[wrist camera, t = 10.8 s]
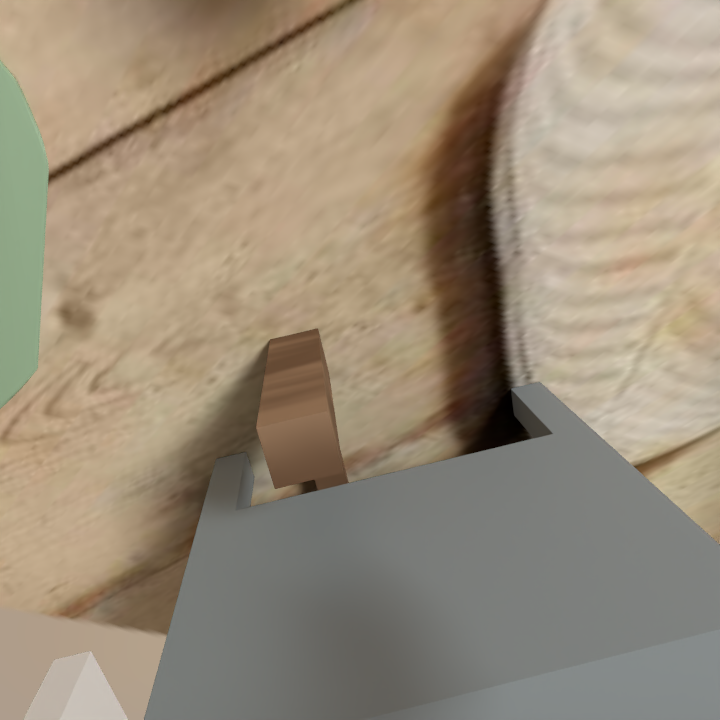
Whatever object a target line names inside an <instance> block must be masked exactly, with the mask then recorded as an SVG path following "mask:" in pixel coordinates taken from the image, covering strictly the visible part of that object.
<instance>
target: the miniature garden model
mask: <svg viewBox="0 0 720 720" xmlns="http://www.w3.org/2000/svg"><path fill="white" fill-rule="evenodd" d="M48 170H49V168H48V160H47V156H46V152H45V148H44V144H43V140H42V137H41V134H40V131H39V129H38V126H37V124H36V122H35V119H34V117H33V114H32V112H31V110H30V107H29V105H28V103H27V101H26V98H25V96H24V94H23V92H22V90H21V88H20V86H19V84H18V82H17V80H16V79H15V77H14V76H13V75H12V74H11V72H10V71H9V70H8V69H7V68H6V66H5V65H4V64H3V63H2V62H1V60H0V408H2V407H3V406H4V405H5V404H6V403H7V402H8V401H9V400H10V399H11V398H12V397H13V396H14V395H15V394H16V393H17V392H18V391H19V390H20V389H21V388H22V387H23V386H24V385H25V383H26V382H27V381H28V380H29V379H30V378H31V376H32V375H33V374H34V372H35V371H36V370H37V368H38V353H39V335H40V317H41V299H42V281H43V263H44V245H45V227H46V208H47V190H48Z"/></svg>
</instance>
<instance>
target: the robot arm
mask: <svg viewBox="0 0 720 720" xmlns="http://www.w3.org/2000/svg"><path fill="white" fill-rule="evenodd" d="M23 720H128V718H127V716H126V714H125V713H124V711H123V709H122V707H121V705H120V703H119V702H118V700H117V698H116V696H115V694H114V692H113V691H112V689H111V687H110V685H109V683H108V681H107V680H106V678H105V676H104V674H103V672H102V670H101V668H100V667H99V665H98V663H97V661H96V659H95V657H94V655H93V654H92V652H91V651H88V652H84V653H80V654H76V655H72V656H68V657H64V658H60V659H56V660H54V661H53V663H52V665H51V667H50V668H49V671H48V673H47V674H46V676H45V678H44V680H43V682H42V684H41V686H40V688H39V690H38V692H37V694H36V696H35V698H34V700H33V701H32V703H31V705H30V707H29V709H28V711H27V713H26V715H25V717H24V719H23Z"/></svg>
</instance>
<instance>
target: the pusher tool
mask: <svg viewBox="0 0 720 720" xmlns="http://www.w3.org/2000/svg"><path fill="white" fill-rule="evenodd" d="M256 430H257V433H258V436H259V439H260V442H261V446H262V449H263V452H264V455H265V458H266V462H267V465H268V468H269V471H270V474H271V478H272V481H273V484H274V487H275V489H277V488H281V487H285V486H289V485H294V484H298V483H302V482H306V481H310V480H314V479H315V483H316V486H317V490H322V489H327V488H331V487H335V486H339V485H343V484H347V483H349V482H348V478H347V474H346V471H345V467H344V463H343V459H342V455H341V451H340V446H339V439H338V433H337V426H336V419H335V412H334V405H333V398H332V391H331V384H330V378H329V372H328V367H327V363H326V359H325V355H324V351H323V347H322V343H321V339H320V335H319V331H318V329H314V330H309V331H305V332H301V333H297V334H292V335H288V336H284V337H279V338H275V339H271V340H270V344H269V350H268V356H267V362H266V369H265V375H264V381H263V387H262V394H261V400H260V406H259V412H258V418H257V425H256Z"/></svg>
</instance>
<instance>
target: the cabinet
mask: <svg viewBox="0 0 720 720" xmlns="http://www.w3.org/2000/svg"><path fill="white" fill-rule="evenodd" d="M511 394H512V402H513V411H514V416H515V417H516V418H517V419H518V420H519V422H520V423H521V424H522V425H523V426H524V427H525V429H526V430H527V431H528V432H529V433H530V434H531V436H532V437H533V438H534V439H530V440H526V441H522V442H518V443H513V444H509V445H505V446H501V447H497V448H493V449H489V450H484V451H480V452H476V453H472V454H468V455H464V456H459V457H455V458H451V459H447V460H443V461H439V462H435V463H430V464H426V465H422V466H418V467H414V468H410V469H406V470H401V471H397V472H393V473H389V474H385V475H381V476H376V477H372V478H368V479H364V480H360V481H356V482H352V483H347V484H343V485H339V486H335V487H331V488H327V489H322V490H318V491H314V492H310V493H306V494H302V495H298V496H293V497H289V498H285V499H281V500H277V501H273V502H269V503H264V504H260V505H256V506H252V507H250V505H251V498H252V491H253V483H254V475H253V472H252V469H251V466H250V462H249V459H248V456H247V453H246V452H243V453H239V454H235V455H231V456H227V457H222V458H218V459H216V461H215V465H214V469H213V472H212V476H211V479H210V483H209V487H208V490H207V494H206V498H205V501H204V505H203V508H202V512H201V516H200V519H199V523H198V526H197V530H196V534H195V537H194V541H193V544H192V548H191V552H190V555H189V559H188V562H187V566H186V570H185V573H184V577H183V580H182V584H181V588H180V591H179V595H178V598H177V602H176V606H175V609H174V613H173V616H172V620H171V624H170V627H169V631H168V634H167V638H166V642H165V646H164V649H163V653H162V656H161V660H160V664H159V667H158V671H157V675H156V678H155V682H154V685H153V689H152V693H151V696H150V699H149V703H148V707H147V711H146V714H145V717H144V720H720V544H718V543H717V542H716V541H715V540H714V539H713V538H712V537H711V536H710V535H708V534H707V533H706V532H705V531H704V530H703V529H702V528H701V527H700V526H699V525H697V524H696V523H695V522H694V521H693V520H692V519H691V518H690V517H689V516H687V515H686V514H685V513H684V512H683V511H682V510H681V509H680V508H679V507H678V506H676V505H675V504H674V503H673V502H672V501H671V500H670V499H669V498H668V497H666V496H665V495H664V494H663V493H662V492H661V491H660V490H659V489H658V488H657V487H655V486H654V485H653V484H652V483H651V482H650V481H649V480H648V479H647V478H645V477H644V476H643V475H642V474H641V473H640V472H639V471H638V470H637V469H636V468H634V467H633V466H632V465H631V464H630V463H629V462H628V461H627V460H626V459H624V458H623V457H622V456H621V455H620V454H619V453H618V452H617V451H616V450H615V449H613V448H612V447H611V446H610V445H609V444H608V443H607V442H606V441H605V440H603V439H602V438H601V437H600V436H599V435H598V434H597V433H596V432H595V431H593V430H592V429H591V428H590V427H589V426H588V425H587V424H586V423H585V422H584V421H582V420H581V419H580V418H579V417H578V416H577V415H576V414H575V413H574V412H572V411H571V410H570V409H569V408H568V407H567V406H566V405H565V404H564V403H563V402H561V401H560V400H559V399H558V398H557V397H556V396H555V395H554V394H553V393H551V392H550V391H549V390H548V389H547V388H546V387H545V386H544V385H543V384H542V383H540V382H538V383H533V384H529V385H525V386H521V387H517V388H512V389H511Z"/></svg>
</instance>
